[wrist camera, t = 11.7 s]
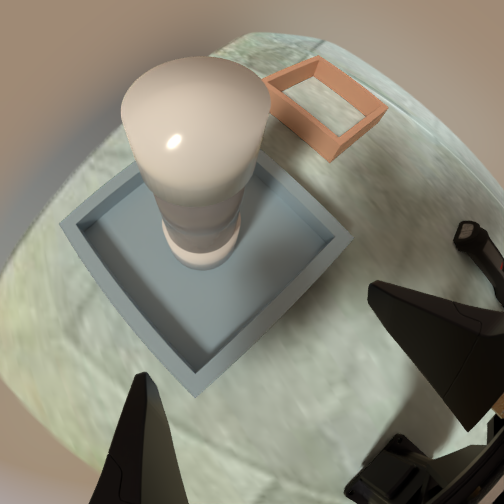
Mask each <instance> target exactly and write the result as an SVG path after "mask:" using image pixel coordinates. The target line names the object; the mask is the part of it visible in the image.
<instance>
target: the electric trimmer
mask: <svg viewBox="0 0 504 504" xmlns="http://www.w3.org/2000/svg"><path fill="white" fill-rule="evenodd" d="M453 241H454V242H455V244H456V249H457V250H459V251H462V252H466V253H468V254H469V256H470V257H471V258H472V259H473V260H474V262H475V263H476V264H477V265H478V267H479V268H480V269H481V270H482V272H483V273H484V274H485V276H486V277H487V278H488V279H489V281H490V282H491V283H492V285H493V286H494V287H495V292H496V298H497V299H498V300H499V302H500V303H501V304H502V305H503V306H504V258H503V256H502V255H501V253H500V252H499V250H498V249H497V247H496V246H495V245H494V243H493V242H492V240H491V239H490V237H489V235H488V232H487V231H486V230H485V229H483V228H481V227H480V225H479V224H478V223H476V222H473V221H462V222H460V223H459V226H458V228H457V231H456V234H455V237H454V240H453Z"/></svg>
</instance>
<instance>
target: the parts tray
mask: <svg viewBox="0 0 504 504" xmlns="http://www.w3.org/2000/svg"><path fill="white" fill-rule="evenodd" d="M240 216H241V224H240V229H239V233H238V237H237V241H236V245H235V249H234V251H233V253H232V255H231V256H230V258H229V259H228V260H227V261H226V262H225V263H223V264H222V265H221V266H219V267H217V268H214V269H211V270H205V271H200V270H194V269H190V268H188V267H186V266H184V265H183V264H181V263H180V262H179V261H178V260H177V259H176V258H175V256H174V255H173V253H172V251H171V249H170V246H169V244H168V242H167V239H166V237H165V234H164V232H163V228H162V216H161V214H160V211H159V208H158V205H157V203H156V200H155V197H154V194H153V192H152V191H150V190H149V188H148V187H147V186H146V184H145V183H144V181H143V179H142V176H141V174H140V171H139V168H138V166H137V163H136V161H134V162H133V163H131V164H130V165H129V166H127V167H126V168H125V169H123V170H122V171H121V172H119V173H118V174H117V175H116V176H114V177H113V178H112V179H110V180H109V181H108V182H107V183H105V184H104V185H103V186H102V187H100V188H99V189H98V190H97V191H96V192H94V193H93V194H92V195H91V196H90V197H88V198H87V199H86V200H85V201H84V202H83V203H81V204H80V205H79V206H78V207H77V208H76V209H75V210H73V211H72V212H71V213H70V214H69V215H68V216H67V217H66V218H65V219H63V220H62V221H61V222H60V223H59V225H60V227H61V228H62V230H63V232H64V233H65V235H66V237H67V238H68V240H69V242H70V243H71V245H72V246H73V248H74V250H75V251H76V253H77V254H78V256H79V257H80V259H81V260H82V262H83V264H84V265H85V267H86V268H87V269H88V271H89V272H90V274H91V275H92V277H93V278H94V280H95V281H96V283H97V284H98V285H99V287H100V288H101V290H102V291H103V292H104V294H105V295H106V296H107V298H108V299H109V300H110V302H111V303H112V304H113V306H114V307H115V308H116V310H117V311H118V312H119V314H120V315H121V316H122V317H123V319H124V320H125V321H126V322H127V324H128V325H129V326H130V327H131V329H132V330H133V331H134V332H135V333H136V335H137V336H138V337H139V338H140V339H141V341H142V342H143V343H144V344H145V345H146V346H147V348H148V349H149V350H150V351H151V352H152V353H153V354H154V356H155V357H156V358H157V359H158V360H159V361H160V362H161V363H162V364H163V366H164V367H165V368H166V369H167V370H168V371H169V372H170V373H171V374H172V375H173V376H174V377H175V378H176V379H177V380H178V382H179V383H180V384H181V385H182V386H183V387H184V388H185V389H186V390H187V391H188V392H189V393H190V394H191V395H192V396H193V397H194V398H196V397H197V396H198V395H199V394H201V393H202V392H203V391H204V390H205V389H206V388H207V387H208V386H209V385H211V384H212V383H213V382H214V381H215V380H216V379H217V378H218V377H219V376H220V375H222V374H223V373H224V372H225V371H226V370H227V369H228V368H229V367H230V366H231V365H232V364H233V363H235V362H236V361H237V360H238V359H239V358H240V357H241V356H242V355H243V354H244V353H245V352H246V351H247V350H248V349H249V348H250V347H251V346H252V345H253V344H254V343H255V342H256V341H257V340H259V339H260V338H261V337H262V336H263V335H264V334H265V333H266V332H267V331H268V330H269V329H270V328H271V327H272V326H273V325H274V324H275V323H276V322H277V321H278V320H279V319H280V318H281V317H282V316H283V315H284V314H285V313H286V312H287V311H288V309H289V308H290V307H291V306H292V305H293V304H294V303H295V302H296V301H297V300H298V299H299V298H300V297H301V296H302V295H303V294H304V293H305V292H306V291H307V290H308V289H309V288H310V287H311V285H312V284H313V283H314V282H315V281H316V280H317V279H318V278H319V277H320V276H321V275H322V274H323V273H324V271H325V270H326V269H327V268H328V267H329V266H330V265H331V264H332V263H333V262H334V260H335V259H336V258H337V257H338V256H339V255H340V254H341V253H342V252H343V250H344V249H345V248H346V247H347V246H348V245H349V244H350V242H351V241H352V240H353V239H354V237H353V236H352V235H351V234H350V233H349V232H348V231H347V230H346V229H345V228H344V227H343V226H342V225H341V224H340V223H339V222H338V221H337V220H336V219H335V218H334V217H333V216H332V215H331V214H330V213H329V212H328V211H327V210H326V209H325V208H324V207H323V206H322V205H321V204H320V203H319V202H318V201H317V200H316V199H315V198H314V197H313V196H312V195H311V194H310V193H309V192H308V191H307V190H305V189H304V188H303V187H302V186H301V185H300V184H299V183H298V182H297V181H296V180H295V179H294V178H293V177H292V176H290V175H289V174H288V173H287V172H286V171H285V170H284V169H283V168H282V167H280V166H279V165H278V164H277V163H276V162H275V161H274V160H273V159H272V158H270V157H269V156H268V155H267V154H266V153H265V152H264V151H262V150H261V149H260V150H259V154H258V158H257V161H256V165H255V169H254V172H253V174H252V177H251V178H250V180H249V181H248V183H247V184H246V185H245V189H244V194H243V198H242V203H241V208H240Z"/></svg>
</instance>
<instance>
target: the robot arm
mask: <svg viewBox="0 0 504 504" xmlns="http://www.w3.org/2000/svg"><path fill="white" fill-rule="evenodd" d="M367 300H368V304H369V305H370V307H371V308H372V310H373V311H374V313H375V314H376V316H377V317H378V318H379V320H380V321H381V323H382V324H383V326H384V327H385V329H386V330H387V331H388V333H389V334H390V335H391V336H392V337H393V339H394V340H395V341H396V342H397V343H398V345H399V346H400V347H401V348H402V349H403V351H404V352H405V353H406V354H407V355H408V357H409V358H410V359H411V360H412V362H413V363H414V364H415V365H416V366H417V368H418V369H419V370H420V371H421V373H422V374H423V375H424V376H425V378H426V379H427V380H428V381H429V383H430V384H431V385H432V386H433V388H434V389H435V390H436V392H437V393H438V394H439V395H440V397H441V398H442V399H443V401H444V402H445V403H446V405H447V406H448V407H449V409H450V410H451V411H452V412H453V414H454V415H455V416H456V418H457V419H458V420H459V422H460V423H461V424H462V426H463V427H464V429H465V430H466V431H467V432H469V431H470V430H471V429H472V428H473V427H474V426H475V425H476V424H477V423H478V422H479V421H480V420H481V419H482V418H483V416H484V415H485V414H486V413H487V412H488V411H489V410H490V409H492V410H493V411H494V412H495V413H496V414H495V415H494V416H493V417H492V418H491V419H490V421H489V422H488V423H487V445H470V446H467V447H465V448H463V449H460V450H458V451H455V452H453V453H450V454H448V455H445V456H442V457H440V458H437V459H431V458H428V457H427V456H426V455H425V454H424V453H423V452H422V451H420V450H419V449H418V448H417V447H416V446H415V445H414V444H413V443H412V442H411V441H410V440H409V439H407V438H406V437H405V436H404V435H402V434H396V435H395V436H394V437H393V438H392V440H391V441H390V442H389V443H388V444H387V446H386V447H385V448H384V449H383V450H382V451H381V453H380V454H379V455H378V456H377V457H376V458H375V459H374V460H373V462H372V463H371V464H370V465H369V466H368V467H367V468H366V469H365V470H364V471H363V472H362V473H361V474H360V475H359V476H358V477H357V478H356V479H355V480H354V481H353V482H352V483H351V484H350V485H349V486H348V487H347V488H346V489H345V490H344V495H345V496H346V497H347V498H349V499H350V500H352V501H354V502H355V503H357V504H504V312H498V311H493V310H488V309H483V308H478V307H473V306H469V305H465V304H461V303H457V302H454V301H453V302H452V301H450V300H447V299H443V298H440V297H436V296H433V295H429V294H426V293H422V292H419V291H415V290H411V289H408V288H404V287H401V286H397V285H394V284H390V283H386V282H383V281H379V280H377V281H375V282H373V283H371V284H370V285H369V288H368V298H367ZM399 438H400V440H399V441H398V439H399ZM397 441H398V442H397ZM108 453H109V454H108V455H107V458H106V461H105V464H104V467H103V470H102V473H101V476H100V478H99V481H98V484H97V486H96V488H95V490H94V493H93V495H92V497H91V500H90V502H89V504H189V503H188V499H187V496H186V492H185V489H184V485H183V482H182V478H181V474H180V470H179V466H178V462H177V458H176V454H175V450H174V446H173V441H172V436H171V432H170V427H169V424H168V421H167V417H166V414H165V411H164V408H163V405H162V402H161V398H160V395H159V392H158V389H157V386H156V384H155V383H154V381H153V380H152V379H151V377H150V376H149V374H148V373H147V372H142V373H139V374H136V375H135V377H134V380H133V382H132V385H131V388H130V391H129V393H128V396H127V399H126V402H125V404H124V407H123V410H122V413H121V416H120V419H119V421H118V424H117V427H116V430H115V433H114V436H113V439H112V442H111V445H110V449H109V452H108ZM350 491H352V492H351V493H349V492H350Z"/></svg>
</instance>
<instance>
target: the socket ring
mask: <svg viewBox="0 0 504 504" xmlns="http://www.w3.org/2000/svg"><path fill="white" fill-rule="evenodd" d="M312 76H314V77H316V78H317V79H318V80H320V81H321V82H323V83H324V84H325V85H327V86H328V87H329V88H331V89H332V90H333V91H335V92H336V93H337V94H339V95H340V96H341V97H343V98H344V99H345V100H346V101H348V102H349V103H350V104H351V105H353V106H354V107H355V108H356V109H358V110H359V111H360V112H361V113H362V114H364V115H365V116H366V118H364V119H363V120H362V121H360V122H359V123H358V124H356V125H355V126H354V127H352V128H351V129H350V130H348V131H347V132H346V133H344V134H343V135H342V136H340V137H337V136H336V135H335V134H334V133H333V132H332V131H330V130H329V129H328V128H327V127H326V126H324V125H323V124H322V123H321V122H320V121H318V120H317V119H316V118H315V117H313V116H312V115H311V114H310V113H308V112H307V111H306V110H305V109H303V108H302V107H301V106H299V105H298V104H297V103H295V102H294V101H293V100H291V99H290V98H289V97H287V96H286V95H285V94H283V93H282V92H281V91H283V90H285V89H287V88H289V87H291V86H293V85H295V84H297V83H299V82H302V81H304V80H306V79H308V78H310V77H312ZM261 80H262V81H263V82H264V83H265V85H266V87H267V89H268V91H269V94H270V99H271V108H270V112H269V113H271V114H272V115H273V116H275V117H276V118H277V119H278V120H280V121H281V122H282V123H283V124H285V125H286V126H287V127H288V128H290V129H291V130H292V131H293V132H294V133H296V134H297V135H298V136H299V137H300V138H302V139H303V140H304V141H305V142H306V143H308V144H309V145H310V146H311V147H312V148H313V149H314V150H316V151H317V152H318V153H319V154H320V155H321V156H322V157H323V158H325V159H326V160H327V161H328V162H329V163H330V162H332V161H333V160H334V159H335V158H336V157H337V156H339V155H340V154H341V153H342V152H343V151H345V150H346V149H347V148H348V147H349V146H351V145H352V144H353V143H354V142H355V141H357V140H358V139H359V138H360V137H361V136H363V135H364V134H365V133H366V132H367V131H369V130H370V129H371V128H372V127H373V126H375V125H376V124H377V123H378V122H379V121H380V119H381V118H382V116H383V115H384V114H385V112H386V111H387V109H388V107H387V106H386V105H385V104H384V103H383V102H381V101H380V100H379V99H378V98H377V97H375V96H374V95H373V94H372V93H370V92H369V91H368V90H367V89H365V88H364V87H363V86H361V85H360V84H359V83H357V82H356V81H355V80H353V79H352V78H351V77H349V76H348V75H347V74H345V73H344V72H342V71H341V70H340V69H338V68H337V67H335V66H334V65H332V64H331V63H329V62H328V61H326V60H325V59H323V58H322V57H320V56H319V55H318V56H315V57H313V58H310V59H307V60H305V61H302V62H300V63H297V64H295V65H292V66H290V67H288V68H285V69H283V70H281V71H278V72H276V73H274V74H272V75H269V76H267V77H265V78H263V79H261Z"/></svg>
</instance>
